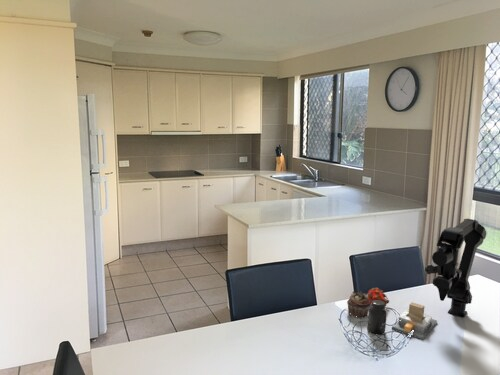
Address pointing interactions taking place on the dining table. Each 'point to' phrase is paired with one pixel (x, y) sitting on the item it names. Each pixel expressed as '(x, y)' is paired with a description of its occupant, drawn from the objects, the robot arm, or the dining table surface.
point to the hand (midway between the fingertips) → (445, 297)
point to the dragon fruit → (377, 295)
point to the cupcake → (358, 304)
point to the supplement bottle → (377, 318)
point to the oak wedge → (416, 311)
